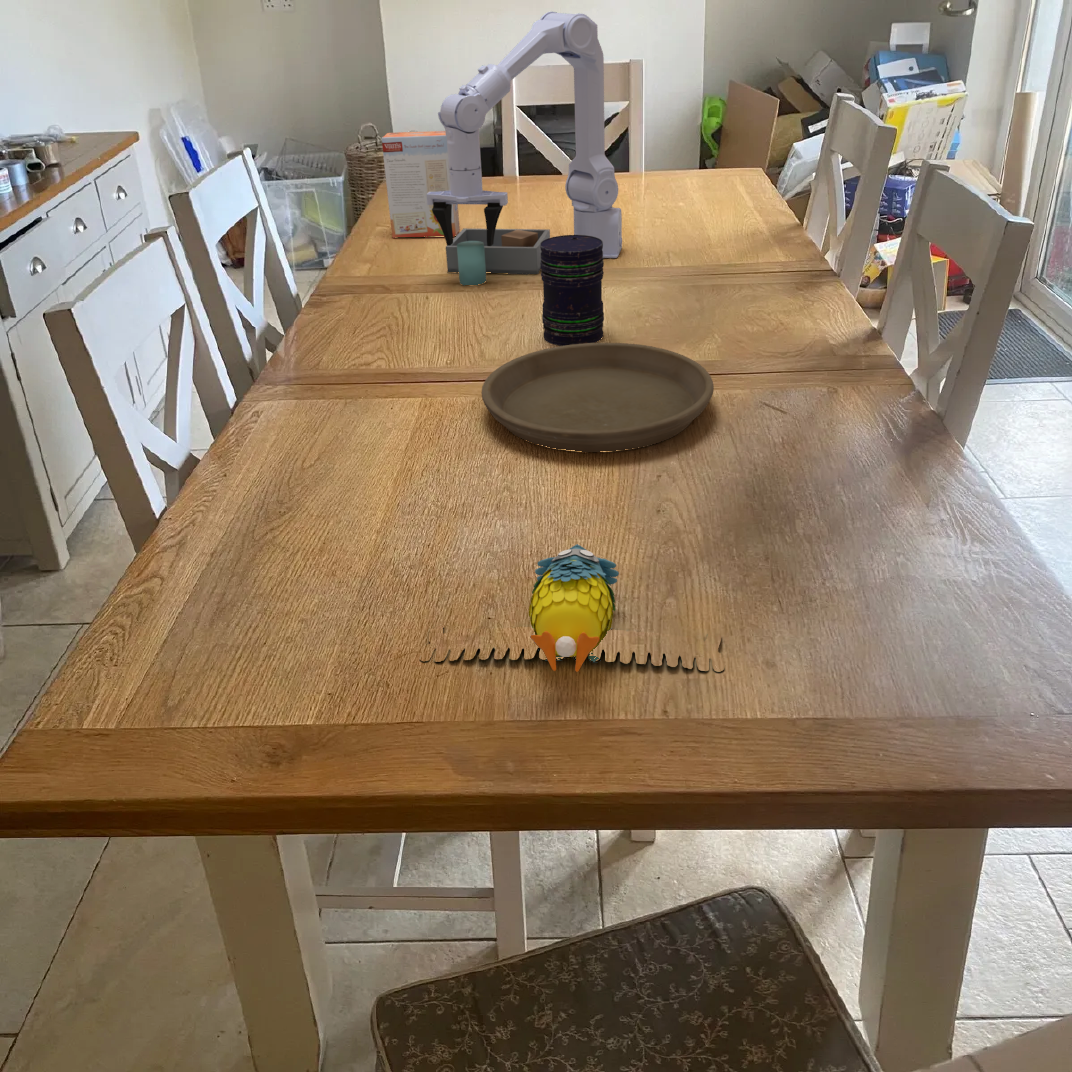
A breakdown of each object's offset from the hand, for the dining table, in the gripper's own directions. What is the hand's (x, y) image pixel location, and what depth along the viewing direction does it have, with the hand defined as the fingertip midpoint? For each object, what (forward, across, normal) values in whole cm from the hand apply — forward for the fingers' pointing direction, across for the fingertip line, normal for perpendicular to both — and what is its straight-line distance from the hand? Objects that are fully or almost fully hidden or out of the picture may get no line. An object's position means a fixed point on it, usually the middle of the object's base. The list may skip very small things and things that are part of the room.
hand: (470, 244), depth 194 cm
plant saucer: (+8, +32, -56) cm, 65 cm away
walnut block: (+6, +7, +12) cm, 15 cm away
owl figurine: (+8, +37, -109) cm, 115 cm away
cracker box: (+7, -18, +33) cm, 38 cm away
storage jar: (+7, +24, -27) cm, 37 cm away
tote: (+7, +3, +12) cm, 14 cm away
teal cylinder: (+7, 0, 0) cm, 7 cm away
